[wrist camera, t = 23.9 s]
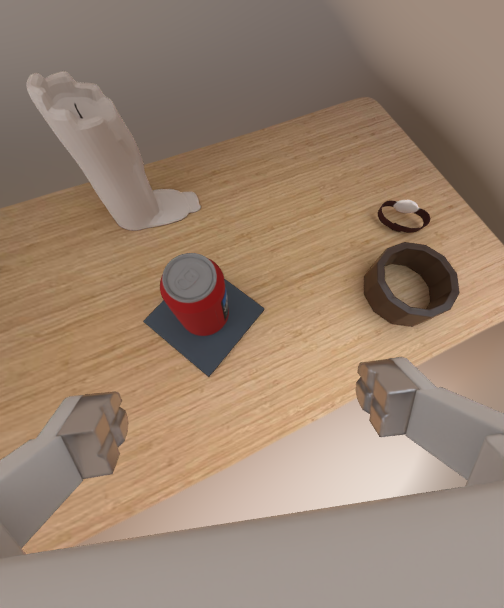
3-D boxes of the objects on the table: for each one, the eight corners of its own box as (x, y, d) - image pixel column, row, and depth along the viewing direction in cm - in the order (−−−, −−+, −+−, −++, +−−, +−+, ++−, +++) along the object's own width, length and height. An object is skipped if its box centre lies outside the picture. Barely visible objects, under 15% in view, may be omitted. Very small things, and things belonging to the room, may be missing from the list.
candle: (203, 217, 45) (174, 81, 26) (116, 234, 43) (17, 102, 24) (195, 183, 47) (163, 36, 28) (112, 198, 46) (20, 53, 27)
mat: (209, 377, 36) (208, 376, 36) (143, 322, 38) (142, 321, 38) (264, 309, 39) (264, 308, 39) (201, 262, 42) (201, 261, 41)
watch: (423, 217, 46) (437, 202, 42) (419, 240, 44) (434, 226, 41) (377, 204, 47) (388, 188, 43) (372, 226, 45) (383, 211, 42)
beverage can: (239, 312, 39) (237, 273, 28) (205, 347, 37) (189, 322, 26) (204, 283, 40) (189, 235, 29) (170, 316, 38) (140, 278, 27)
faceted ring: (416, 340, 38) (437, 332, 34) (350, 295, 41) (362, 283, 36) (448, 285, 42) (471, 272, 37) (385, 246, 44) (400, 229, 39)
